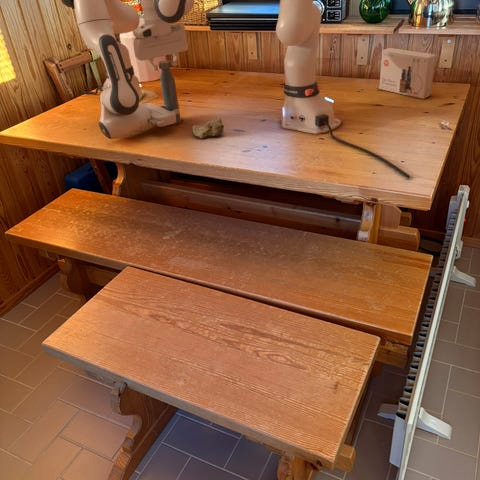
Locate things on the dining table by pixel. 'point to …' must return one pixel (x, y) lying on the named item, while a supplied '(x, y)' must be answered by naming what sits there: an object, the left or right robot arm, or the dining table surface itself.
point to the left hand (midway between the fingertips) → (174, 108)
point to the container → (140, 67)
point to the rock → (209, 128)
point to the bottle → (169, 92)
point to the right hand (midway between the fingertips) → (165, 68)
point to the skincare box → (407, 72)
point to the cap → (164, 64)
